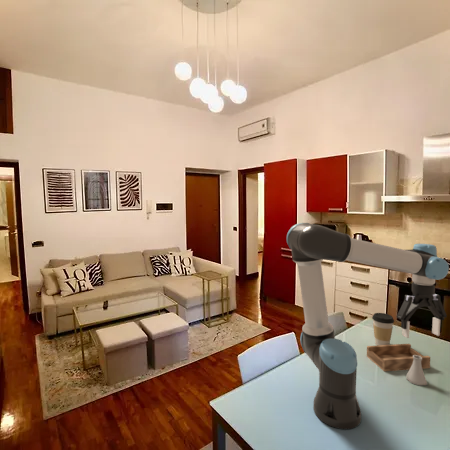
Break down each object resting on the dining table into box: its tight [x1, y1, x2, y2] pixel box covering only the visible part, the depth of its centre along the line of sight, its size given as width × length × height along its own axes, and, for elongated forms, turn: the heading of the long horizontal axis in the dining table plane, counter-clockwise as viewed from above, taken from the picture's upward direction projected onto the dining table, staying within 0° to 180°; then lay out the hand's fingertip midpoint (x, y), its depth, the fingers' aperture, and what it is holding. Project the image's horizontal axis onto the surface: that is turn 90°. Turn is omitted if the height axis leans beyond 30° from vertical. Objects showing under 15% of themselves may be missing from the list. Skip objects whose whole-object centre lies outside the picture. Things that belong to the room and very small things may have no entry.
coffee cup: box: [371, 312, 395, 346], centre depth 145 cm, size 10×10×15 cm
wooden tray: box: [366, 343, 431, 372], centre depth 129 cm, size 21×12×5 cm, turn 96°
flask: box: [405, 355, 428, 387], centre depth 115 cm, size 7×7×10 cm
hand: (420, 335), depth 114 cm, fingers open, 13 cm apart
